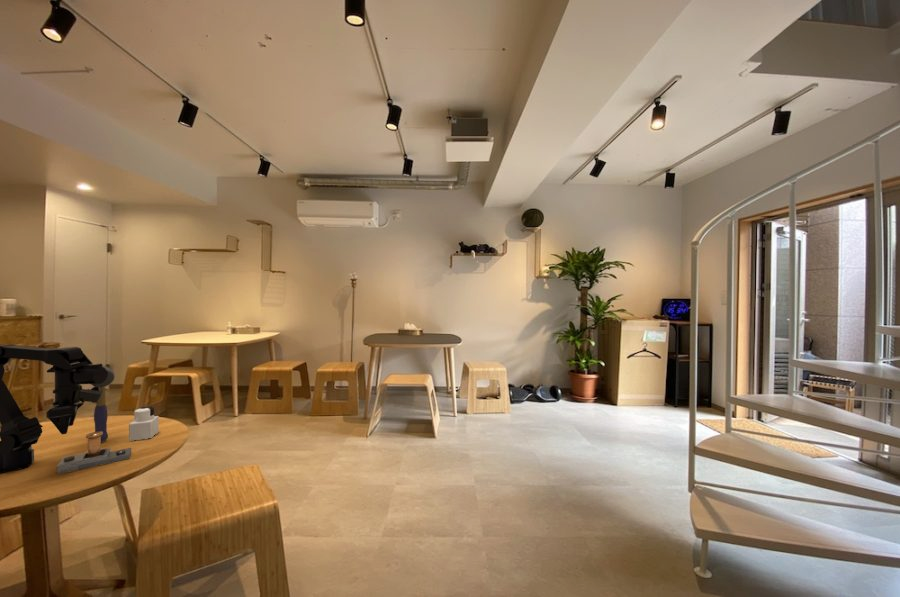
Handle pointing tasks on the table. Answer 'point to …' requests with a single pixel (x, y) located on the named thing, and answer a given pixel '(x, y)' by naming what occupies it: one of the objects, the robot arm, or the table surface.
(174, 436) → the table surface
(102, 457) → the slotted metal plate
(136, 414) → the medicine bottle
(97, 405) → the rubber mallet
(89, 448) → the pin
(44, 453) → the table surface
